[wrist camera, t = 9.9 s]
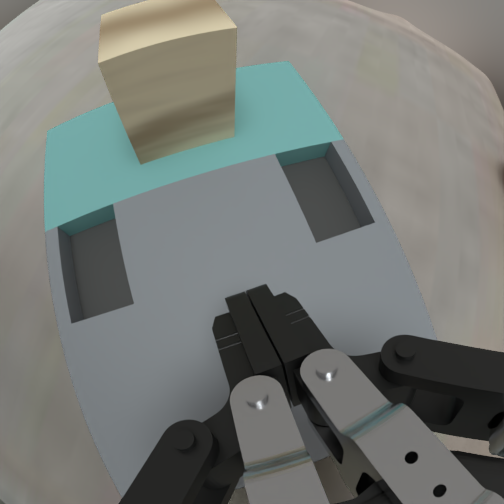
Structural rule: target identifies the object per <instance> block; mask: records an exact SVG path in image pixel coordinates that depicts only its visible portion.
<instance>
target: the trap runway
mask: <svg viewBox="0 0 504 504" xmlns="http://www.w3.org/2000/svg"><path fill="white" fill-rule="evenodd" d="M44 219H45V238H46V251H47V262H48V270H49V278H50V286H51V292H52V299H53V305H54V310H55V316H56V321H57V326H58V330H59V335H60V339H61V343H62V347H63V351H64V355H65V359H66V363H67V366H68V370H69V373H70V377H71V380H72V383H73V387H74V390H75V393H76V396H77V399H78V402H79V404H80V407H81V410H82V413H83V415H84V418H85V421H86V423H87V426H88V428H89V431H90V433H91V436H92V438H93V440H94V443H95V445H96V447H97V449H98V452H99V454H100V456H101V458H102V460H103V462H104V464H105V467H106V469H107V471H108V473H109V475H110V476H111V478H112V480H113V482H114V484H115V486H116V488H117V490H118V491H119V493H120V495H121V497H122V498H123V496H124V495H125V493H126V492H127V490H128V488H129V487H130V485H131V484H132V482H133V481H134V479H135V478H136V476H137V474H138V473H139V471H140V470H141V468H142V467H143V465H144V463H145V462H146V460H147V459H148V457H149V455H150V454H151V452H152V451H153V449H154V448H155V446H156V444H157V443H158V441H159V440H160V438H161V436H162V435H163V433H164V432H165V430H166V429H167V428H168V427H169V426H171V425H172V424H174V423H176V422H178V421H181V420H189V419H190V420H196V421H199V422H204V421H205V420H207V419H208V418H210V417H212V416H213V415H215V414H216V413H217V412H219V411H220V410H221V409H222V408H223V407H224V405H225V404H226V402H227V400H228V398H229V393H230V388H229V384H228V380H227V377H226V374H225V371H224V368H223V364H222V361H221V358H220V354H219V351H218V348H217V344H216V341H215V337H214V334H213V331H212V326H213V323H214V319H215V317H216V316H219V315H222V314H225V313H228V312H229V310H228V307H227V304H226V301H225V298H226V297H229V296H232V295H235V294H238V293H241V292H244V291H245V293H246V290H249V289H252V288H255V287H258V286H260V285H263V284H267V286H268V287H269V289H270V291H271V292H272V294H273V295H274V296H276V295H278V294H281V293H284V292H286V293H288V294H289V295H291V296H293V297H295V298H297V300H298V301H299V302H300V304H301V305H302V307H303V309H305V311H306V312H307V313H308V315H309V317H310V318H311V319H312V320H313V322H314V323H315V324H316V326H317V327H318V328H319V330H320V331H321V333H322V334H323V335H324V337H325V338H326V339H327V341H328V342H329V344H330V345H331V346H332V347H333V348H334V349H336V350H339V351H341V352H343V353H345V354H346V355H350V356H359V355H366V354H371V353H376V352H381V349H382V347H383V345H384V343H385V342H386V341H387V340H388V339H390V338H392V337H394V336H397V335H412V336H417V337H422V338H427V339H432V340H437V338H436V335H435V332H434V329H433V326H432V323H431V320H430V317H429V314H428V312H427V309H426V306H425V303H424V301H423V298H422V295H421V293H420V290H419V288H418V285H417V282H416V280H415V278H414V275H413V273H412V270H411V268H410V265H409V263H408V261H407V258H406V256H405V254H404V252H403V249H402V247H401V245H400V243H399V241H398V238H397V236H396V234H395V232H394V230H393V228H392V226H391V224H390V222H389V220H388V218H387V216H386V214H385V212H384V210H383V208H382V206H381V204H380V202H379V200H378V198H377V196H376V194H375V192H374V191H373V189H372V187H371V185H370V183H369V181H368V180H367V178H366V176H365V174H364V172H363V171H362V169H361V167H360V166H359V164H358V162H357V160H356V159H355V157H354V155H353V154H352V152H351V150H350V149H349V147H348V145H347V144H346V142H345V141H344V139H343V137H342V136H341V134H340V133H339V131H338V130H337V128H336V126H335V125H334V123H333V122H332V120H331V119H330V117H329V116H328V114H327V113H326V111H325V110H324V108H323V107H322V106H321V104H320V103H319V101H318V100H317V98H316V97H315V96H314V94H313V93H312V91H311V90H310V89H309V87H308V86H307V84H306V83H305V82H304V80H303V79H302V78H301V76H300V75H299V74H298V73H297V71H296V70H295V69H294V67H293V66H292V65H291V63H290V62H289V61H284V62H275V63H267V64H260V65H253V66H247V67H241V68H236V84H235V132H234V137H232V138H228V139H224V140H220V141H217V142H213V143H209V144H206V145H202V146H198V147H195V148H192V149H188V150H185V151H181V152H178V153H175V154H172V155H169V156H165V157H162V158H159V159H156V160H153V161H150V162H147V163H144V164H142V165H141V164H140V162H139V160H138V158H137V156H136V153H135V151H134V149H133V147H132V144H131V142H130V140H129V138H128V135H127V133H126V131H125V128H124V126H123V124H122V121H121V119H120V117H119V114H118V112H117V110H116V107H115V105H114V102H112V103H109V104H106V105H104V106H101V107H99V108H96V109H94V110H91V111H89V112H87V113H84V114H82V115H80V116H78V117H75V118H73V119H71V120H69V121H67V122H65V123H62V124H60V125H58V126H56V127H54V128H52V129H50V130H48V131H47V141H46V154H45V173H44ZM290 402H291V400H290ZM291 407H292V408H290V409H291V412H292V414H293V417H294V420H295V422H296V425H297V427H298V430H299V433H300V435H301V438H302V440H303V443H304V445H305V448H306V450H307V452H308V453H309V455H310V457H311V459H312V461H313V463H314V462H316V461H319V460H321V459H323V458H325V457H328V456H330V455H329V454H328V452H327V451H326V449H325V448H324V446H323V445H322V443H321V442H320V440H319V439H318V437H317V436H316V434H315V433H314V431H313V430H312V428H311V426H310V425H309V423H308V420H307V414H306V412H305V410H304V408H303V406H302V404H300V405H297V406H295V407H294V406H293V404H292V402H291ZM242 487H245V484H244V478H243V476H242V477H240V479H239V481H238V484H237V486H236V488H235V489H239V488H242Z"/></svg>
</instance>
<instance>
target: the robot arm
mask: <svg viewBox="0 0 504 504" xmlns="http://www.w3.org/2000/svg"><path fill="white" fill-rule="evenodd" d="M225 301H226V304H227V307H228V310H229V312H228V313H225V314H222V315H219V316H216V317H215V319H214V323H213V326H212V331H213V334H214V337H215V341H216V344H217V348H218V351H219V354H220V358H221V361H222V364H223V368H224V371H225V374H226V377H227V380H228V384H229V388H230V393H229V398H228V400H227V402H226V404H225V405H224V407H223V408H222V409H221V410H220V411H219V412H217V413H216V414H215V415H213V416H212V417H210V418H208V419H207V420H205V421H204V422H199V421H196V420H190V419H189V420H181V421H178V422H176V423H174V424H172V425H171V426H169V427H168V428H167V429H166V430H165V432H164V433H163V435H162V436H161V438H160V440H159V441H158V443H157V444H156V446H155V448H154V449H153V451H152V452H151V454H150V455H149V457H148V459H147V460H146V462H145V463H144V465H143V467H142V468H141V470H140V471H139V473H138V474H137V476H136V478H135V479H134V481H133V482H132V484H131V485H130V487H129V488H128V490H127V492H126V493H125V495H124V496H123V498H122V499H121V501H120V502H119V504H228V502H229V500H230V498H231V496H232V494H233V492H234V490H235V488H236V486H237V484H238V481H239V479H240V477H242V476H243V478H244V484H245V488H246V492H247V496H248V500H249V504H330V503H329V501H328V498H327V496H326V493H325V491H324V488H323V486H322V483H321V481H320V479H319V476H318V474H317V471H316V469H315V466H314V464H313V461H312V459H311V457H310V455H309V453H308V452H307V450H306V448H305V445H304V443H303V440H302V438H301V435H300V433H299V430H298V427H297V425H296V422H295V420H294V417H293V414H292V412H291V409H290V408H292V407H291V402H292V404H293V406H294V407H295V406H297V405H300V404H302V406H303V408H304V410H305V412H306V414H307V420H308V423H309V425H310V426H311V428H312V430H313V431H314V433H315V434H316V436H317V437H318V439H319V440H320V442H321V443H322V445H323V446H324V448H325V449H326V451H327V452H328V454H329V455H330V457H331V458H332V460H333V461H334V463H335V464H336V466H337V468H338V470H339V472H340V475H341V477H342V479H343V481H344V483H345V484H346V486H347V487H348V489H349V490H350V492H351V493H352V495H353V496H354V499H352V500H349V501H345V502H341V503H336V504H504V459H503V458H496V457H489V456H483V455H477V454H472V453H466V452H461V451H449V450H448V449H447V447H446V446H445V445H444V444H443V443H442V442H441V441H440V440H439V439H438V438H437V437H436V436H435V434H434V433H433V432H437V433H442V434H448V435H453V436H459V437H465V438H471V439H478V440H485V441H489V444H490V445H489V452H490V453H491V454H492V455H498V456H501V457H504V353H503V352H497V351H491V350H485V349H480V348H474V347H468V346H463V345H458V344H452V343H447V342H442V341H437V340H432V339H427V338H422V337H417V336H412V335H397V336H394V337H392V338H390V339H388V340H387V341H386V342H385V343H384V345H383V347H382V349H381V352H376V353H371V354H366V355H359V356H350V355H346V354H345V353H343V352H341V351H339V350H336V349H334V348H333V347H332V346H331V345H330V344H329V342H328V341H327V339H326V338H325V337H324V335H323V334H322V333H321V331H320V330H319V328H318V327H317V326H316V324H315V323H314V322H313V320H312V319H311V318H310V317H309V315H308V313H307V312H306V311H305V309H303V307H302V305H301V304H300V302H299V301H298V300H297V298H295V297H293V296H291V295H289V294H288V293H286V292H284V293H281V294H278V295H276V296H274V295H273V294H272V292H271V291H270V289H269V287H268V286H267V284H263V285H260V286H258V287H255V288H252V289H249V290H246V293H245V291H244V292H241V293H238V294H235V295H232V296H229V297H226V298H225ZM290 400H291V402H290ZM432 431H433V432H432Z"/></svg>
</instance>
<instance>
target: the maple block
mask: <svg viewBox="0 0 504 504" xmlns="http://www.w3.org/2000/svg"><path fill="white" fill-rule="evenodd" d="M236 48H237V27H236V25H235V24H234V23H233V22H232V20H231V19H230V18H229V17H228V15H227V14H226V13H225V12H224V10H223V9H222V8H221V7H220V6H219V4H218V3H217V2H216V1H215V0H147V1H144V2H140V3H137V4H133V5H130V6H127V7H123V8H120V9H117V10H114V11H111V12H108V13H106V14H103V15H102V16H101V26H100V38H99V54H98V64H99V67H100V70H101V72H102V75H103V77H104V80H105V82H106V85H107V87H108V90H109V92H110V95H111V97H112V100H113V102H114V105H115V107H116V110H117V112H118V114H119V117H120V119H121V121H122V124H123V126H124V128H125V131H126V133H127V135H128V138H129V140H130V142H131V144H132V147H133V149H134V151H135V153H136V156H137V158H138V160H139V162H140V164H141V165H142V164H144V163H147V162H150V161H153V160H156V159H159V158H162V157H165V156H169V155H172V154H175V153H178V152H181V151H185V150H188V149H192V148H195V147H198V146H202V145H206V144H209V143H213V142H217V141H220V140H224V139H228V138H232V137H234V132H235V84H236Z"/></svg>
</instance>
